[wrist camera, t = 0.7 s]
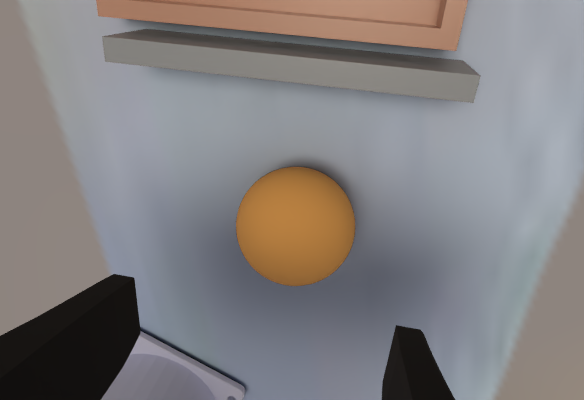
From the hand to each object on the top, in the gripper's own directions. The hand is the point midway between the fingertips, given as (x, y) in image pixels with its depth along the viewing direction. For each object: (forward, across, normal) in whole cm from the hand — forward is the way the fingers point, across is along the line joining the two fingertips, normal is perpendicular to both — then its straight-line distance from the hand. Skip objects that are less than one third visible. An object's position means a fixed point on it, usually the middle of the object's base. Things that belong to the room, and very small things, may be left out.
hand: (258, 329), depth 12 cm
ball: (+6, 0, 0) cm, 6 cm away
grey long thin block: (+8, +1, -6) cm, 10 cm away
